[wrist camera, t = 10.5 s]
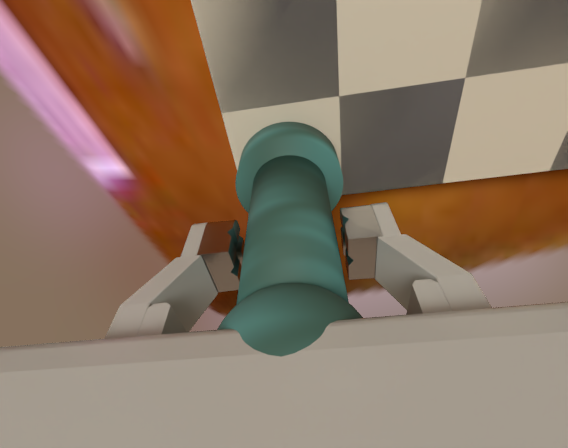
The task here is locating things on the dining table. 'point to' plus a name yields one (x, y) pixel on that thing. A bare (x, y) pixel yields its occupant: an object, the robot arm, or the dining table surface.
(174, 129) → the dining table surface
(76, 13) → the dining table surface
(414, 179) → the board
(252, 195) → the pawn
